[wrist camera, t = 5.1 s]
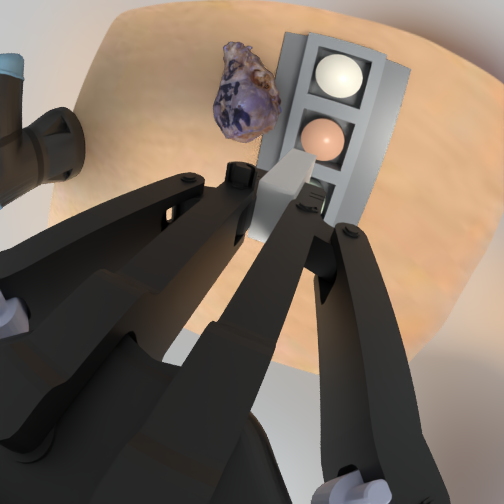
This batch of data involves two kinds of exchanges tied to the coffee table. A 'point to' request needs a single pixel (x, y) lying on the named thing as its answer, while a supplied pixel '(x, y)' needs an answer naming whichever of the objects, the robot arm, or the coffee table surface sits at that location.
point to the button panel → (336, 119)
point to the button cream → (339, 76)
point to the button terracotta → (323, 138)
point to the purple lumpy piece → (245, 96)
